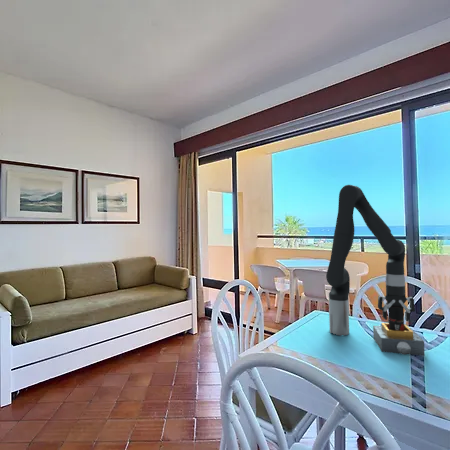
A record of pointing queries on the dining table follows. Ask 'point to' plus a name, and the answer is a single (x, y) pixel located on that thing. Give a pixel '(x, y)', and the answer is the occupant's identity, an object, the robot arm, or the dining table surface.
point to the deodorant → (396, 318)
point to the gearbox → (398, 340)
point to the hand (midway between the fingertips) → (396, 319)
